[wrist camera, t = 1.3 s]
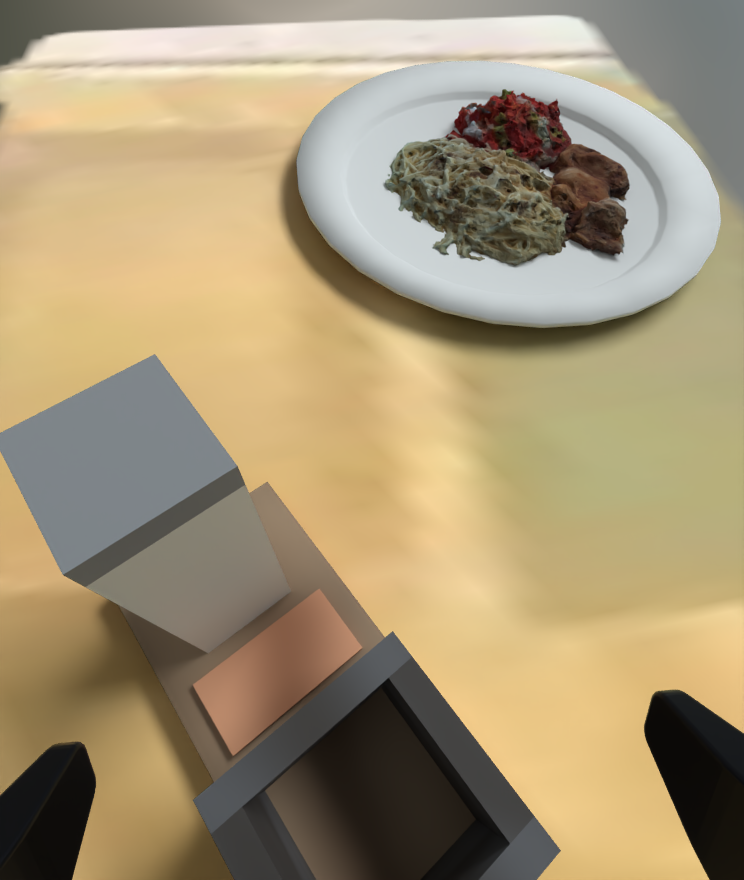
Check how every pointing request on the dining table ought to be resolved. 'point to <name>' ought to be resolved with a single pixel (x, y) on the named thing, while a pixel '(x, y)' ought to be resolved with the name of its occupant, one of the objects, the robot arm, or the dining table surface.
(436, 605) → the dining table surface
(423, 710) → the socket deck
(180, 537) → the plug
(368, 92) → the plated food
